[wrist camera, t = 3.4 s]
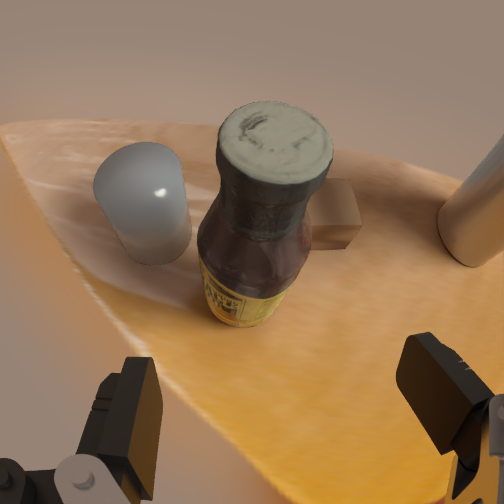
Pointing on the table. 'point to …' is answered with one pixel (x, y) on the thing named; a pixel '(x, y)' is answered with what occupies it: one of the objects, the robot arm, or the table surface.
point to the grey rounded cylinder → (145, 201)
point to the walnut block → (333, 215)
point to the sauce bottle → (261, 209)
